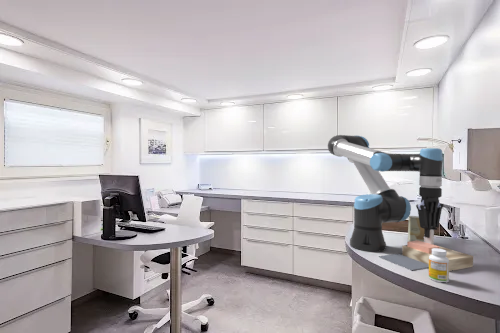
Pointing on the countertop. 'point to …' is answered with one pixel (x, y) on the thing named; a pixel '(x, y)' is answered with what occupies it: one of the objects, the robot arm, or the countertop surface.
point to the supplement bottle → (439, 265)
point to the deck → (455, 257)
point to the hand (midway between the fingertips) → (428, 245)
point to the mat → (405, 261)
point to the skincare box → (415, 229)
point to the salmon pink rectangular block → (422, 246)
